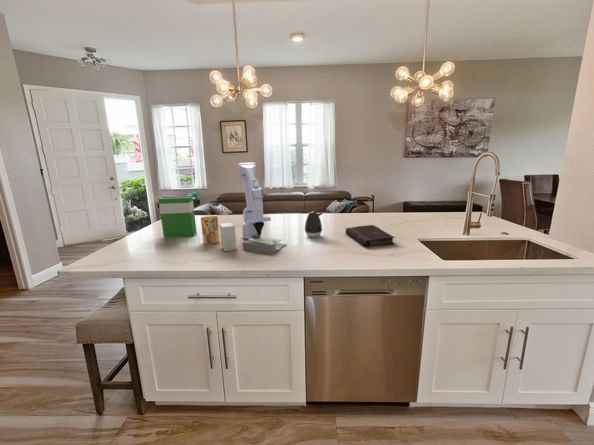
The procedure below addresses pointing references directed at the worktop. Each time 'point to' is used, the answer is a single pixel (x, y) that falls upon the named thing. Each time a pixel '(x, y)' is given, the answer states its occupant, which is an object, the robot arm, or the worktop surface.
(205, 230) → the candy box
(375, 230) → the diary
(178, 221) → the green cereal box
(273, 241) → the cover
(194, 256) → the worktop surface
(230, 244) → the small box
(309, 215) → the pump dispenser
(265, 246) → the large grey box
